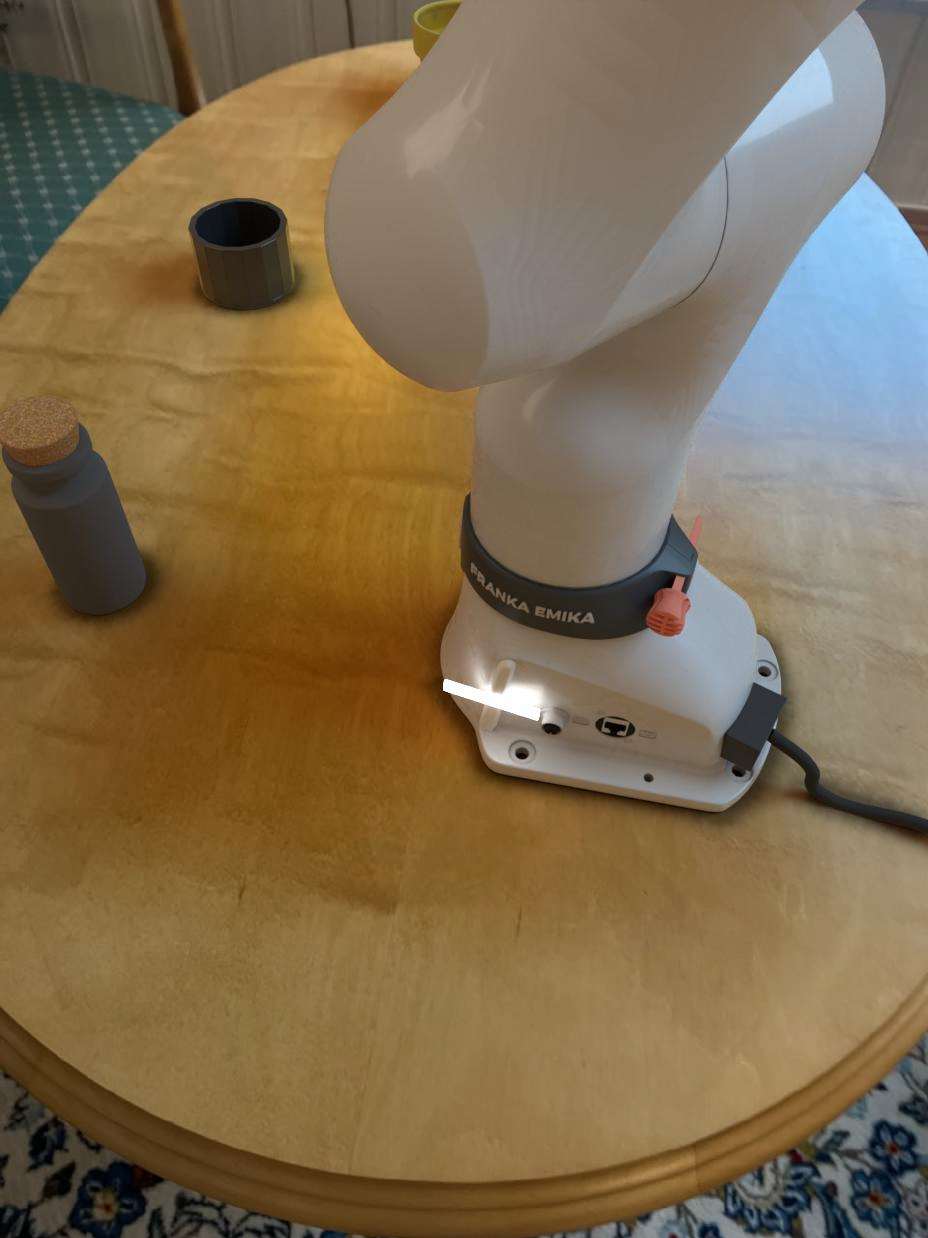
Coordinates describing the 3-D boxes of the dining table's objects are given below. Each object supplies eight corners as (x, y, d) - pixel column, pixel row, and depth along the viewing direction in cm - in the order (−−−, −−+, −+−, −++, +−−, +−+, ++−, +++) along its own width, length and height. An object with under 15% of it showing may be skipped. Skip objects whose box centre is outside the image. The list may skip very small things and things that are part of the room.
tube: (310, 269, 93) (303, 209, 88) (266, 319, 88) (256, 259, 83) (231, 248, 95) (220, 189, 90) (184, 296, 90) (169, 236, 85)
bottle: (127, 622, 67) (59, 461, 55) (47, 608, 67) (-37, 445, 55) (160, 559, 70) (103, 395, 58) (84, 546, 71) (12, 381, 59)
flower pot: (465, 80, 117) (467, -11, 110) (521, 113, 113) (527, 20, 105) (396, 104, 113) (393, 11, 106) (451, 139, 108) (452, 45, 101)
